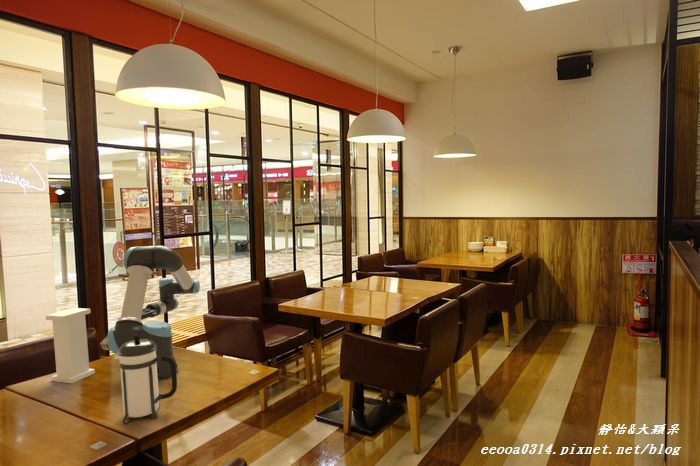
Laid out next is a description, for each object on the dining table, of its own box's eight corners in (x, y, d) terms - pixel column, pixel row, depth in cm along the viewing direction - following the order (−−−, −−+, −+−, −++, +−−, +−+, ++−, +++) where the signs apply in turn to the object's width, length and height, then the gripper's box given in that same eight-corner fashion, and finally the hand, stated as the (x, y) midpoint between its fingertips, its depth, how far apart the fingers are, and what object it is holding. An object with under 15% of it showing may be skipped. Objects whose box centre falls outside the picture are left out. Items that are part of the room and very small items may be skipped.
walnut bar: (109, 350, 223) (105, 344, 221) (103, 349, 224) (99, 344, 222) (140, 315, 242) (136, 309, 240) (134, 314, 243) (130, 309, 241)
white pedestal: (69, 384, 200) (64, 316, 198) (49, 381, 204) (43, 315, 202) (96, 372, 213) (91, 308, 211) (77, 370, 217) (72, 307, 215)
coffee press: (137, 429, 158) (131, 343, 155) (110, 418, 166) (104, 337, 164) (179, 408, 172) (175, 330, 170) (153, 400, 181) (148, 325, 179)
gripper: (142, 302, 258) (108, 312, 236) (167, 303, 252) (135, 314, 230) (143, 315, 258) (109, 326, 236) (168, 316, 253) (136, 328, 231)
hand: (122, 320), depth 233 cm, fingers closed on walnut bar, 4 cm apart
